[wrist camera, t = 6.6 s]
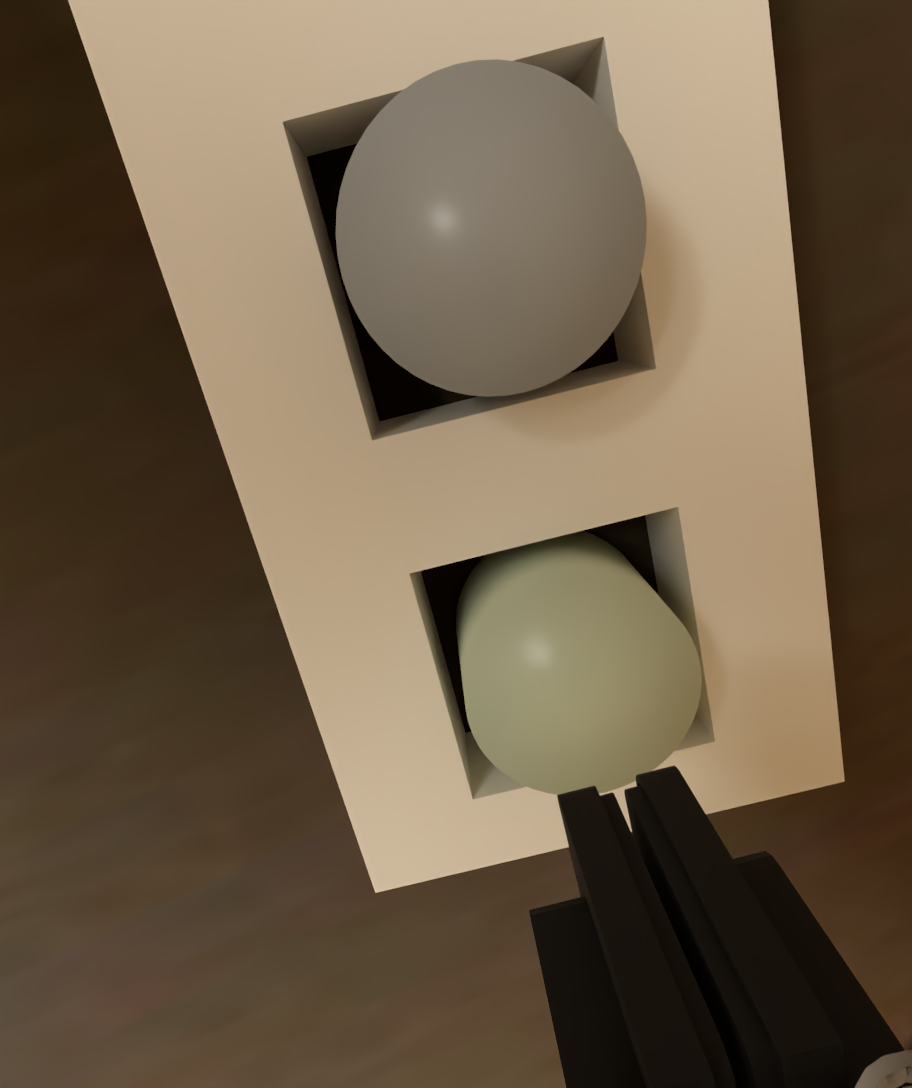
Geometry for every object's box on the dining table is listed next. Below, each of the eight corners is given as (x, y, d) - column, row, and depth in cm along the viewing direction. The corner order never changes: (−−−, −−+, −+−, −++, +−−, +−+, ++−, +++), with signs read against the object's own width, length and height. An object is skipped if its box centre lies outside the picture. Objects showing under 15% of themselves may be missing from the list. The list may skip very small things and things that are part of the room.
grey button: (326, 161, 15) (294, 106, 11) (566, 98, 15) (617, 21, 11) (391, 402, 16) (383, 428, 13) (609, 347, 16) (668, 356, 12)
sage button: (434, 554, 18) (439, 615, 15) (628, 506, 18) (682, 555, 15) (480, 723, 20) (494, 818, 16) (659, 679, 20) (716, 765, 16)
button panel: (-41, -469, 13) (-171, -693, 10) (618, -660, 13) (675, -945, 10) (381, 815, 21) (375, 893, 18) (786, 718, 21) (844, 781, 18)
